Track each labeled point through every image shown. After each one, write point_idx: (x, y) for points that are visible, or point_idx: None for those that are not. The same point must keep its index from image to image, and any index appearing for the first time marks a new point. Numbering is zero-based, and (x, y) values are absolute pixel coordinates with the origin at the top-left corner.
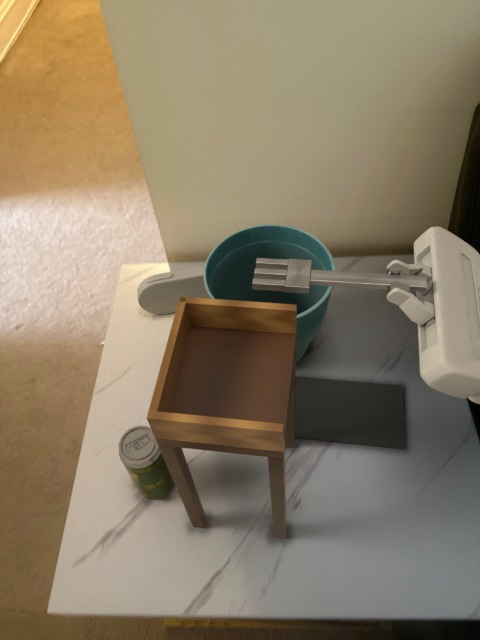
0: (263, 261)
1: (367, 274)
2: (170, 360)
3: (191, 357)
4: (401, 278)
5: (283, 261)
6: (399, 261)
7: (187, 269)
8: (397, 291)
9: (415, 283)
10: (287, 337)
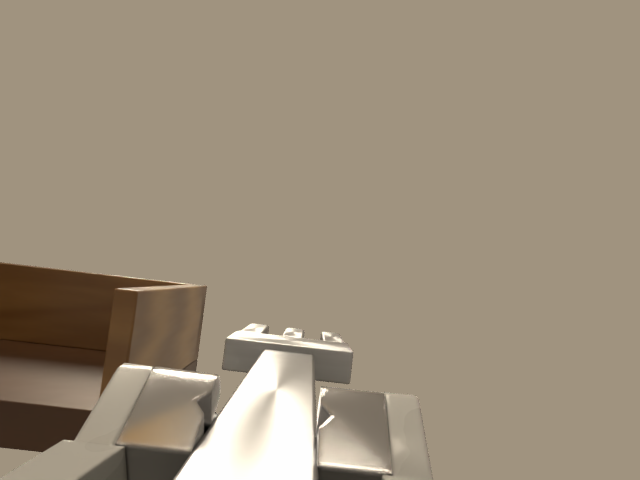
0: (327, 333)
1: (301, 391)
2: (58, 269)
3: (99, 353)
4: (276, 440)
5: (334, 340)
6: (411, 408)
7: None
8: (122, 364)
9: (219, 474)
10: (91, 402)
